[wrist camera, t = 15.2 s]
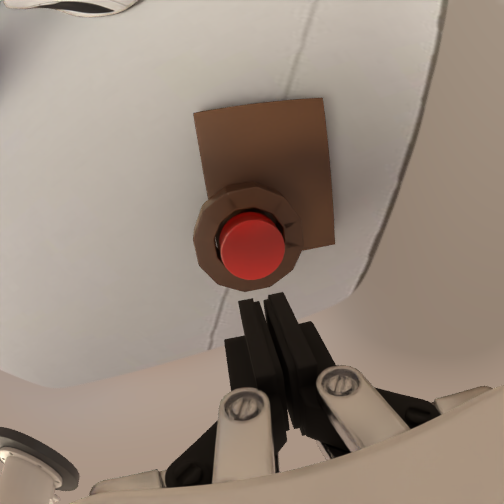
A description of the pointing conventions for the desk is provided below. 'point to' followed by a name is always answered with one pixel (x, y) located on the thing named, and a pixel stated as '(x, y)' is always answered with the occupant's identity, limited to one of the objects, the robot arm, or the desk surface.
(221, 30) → the desk surface
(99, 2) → the computer mouse
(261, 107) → the button block
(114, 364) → the desk surface
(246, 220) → the button
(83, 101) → the desk surface
